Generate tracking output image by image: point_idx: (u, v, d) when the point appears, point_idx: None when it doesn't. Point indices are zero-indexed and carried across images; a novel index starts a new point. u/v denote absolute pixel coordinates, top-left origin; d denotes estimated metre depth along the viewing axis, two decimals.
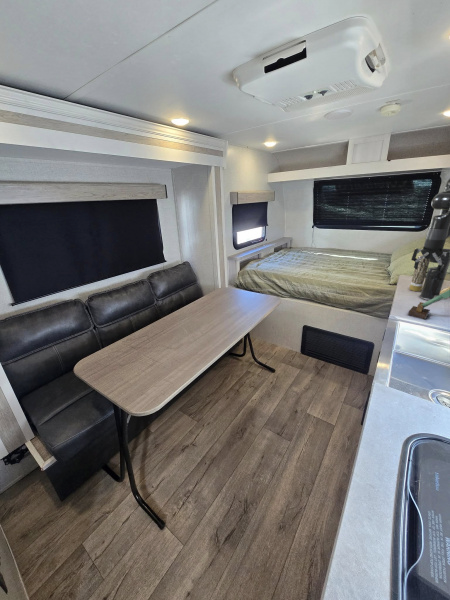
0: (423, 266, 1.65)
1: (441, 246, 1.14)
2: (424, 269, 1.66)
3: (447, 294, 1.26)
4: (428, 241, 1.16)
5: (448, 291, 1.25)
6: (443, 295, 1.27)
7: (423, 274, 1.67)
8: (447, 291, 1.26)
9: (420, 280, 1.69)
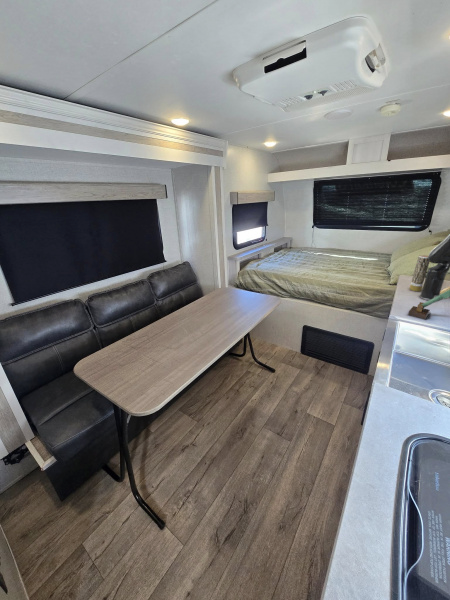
0: (423, 266, 1.65)
1: None
2: (424, 269, 1.66)
3: (447, 294, 1.26)
4: None
5: (448, 291, 1.25)
6: (443, 295, 1.27)
7: (423, 274, 1.67)
8: (447, 291, 1.26)
9: (420, 280, 1.69)
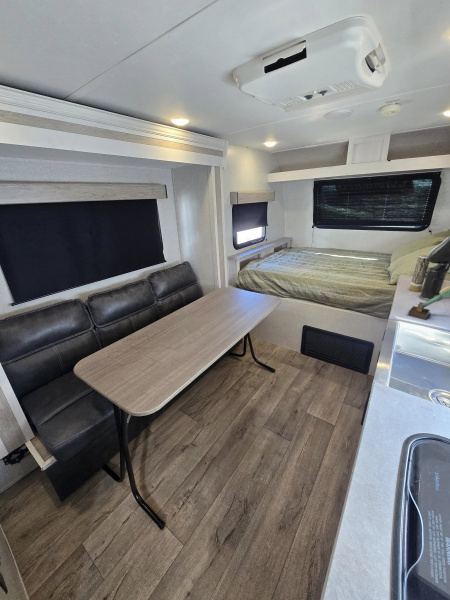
0: (423, 266, 1.65)
1: None
2: (424, 269, 1.66)
3: (447, 294, 1.26)
4: None
5: (448, 291, 1.26)
6: (443, 295, 1.27)
7: (423, 274, 1.67)
8: (447, 291, 1.26)
9: (420, 280, 1.69)
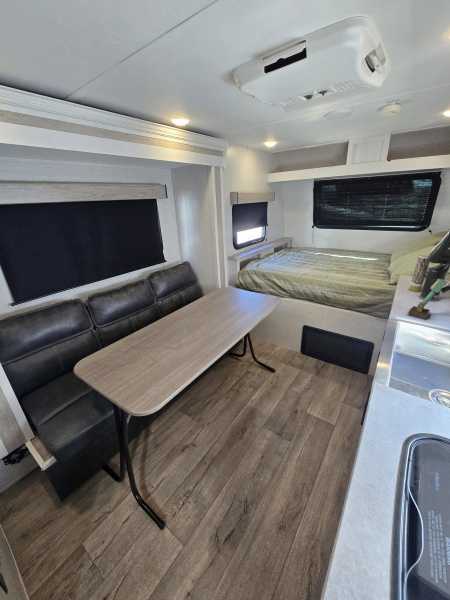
0: (423, 266, 1.65)
1: None
2: (424, 269, 1.66)
3: (437, 287, 1.28)
4: None
5: (437, 284, 1.28)
6: (434, 289, 1.29)
7: (423, 274, 1.67)
8: (436, 285, 1.28)
9: (420, 280, 1.69)
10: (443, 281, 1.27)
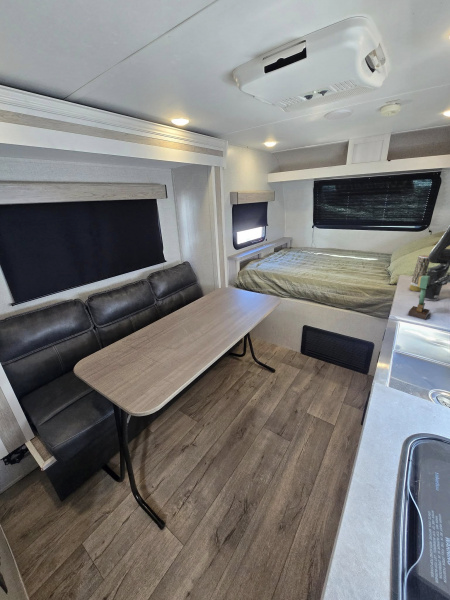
0: (423, 266, 1.65)
1: None
2: (424, 269, 1.66)
3: (423, 283, 1.32)
4: None
5: (421, 281, 1.33)
6: (422, 286, 1.33)
7: (423, 274, 1.67)
8: (420, 281, 1.33)
9: None
10: (425, 276, 1.32)
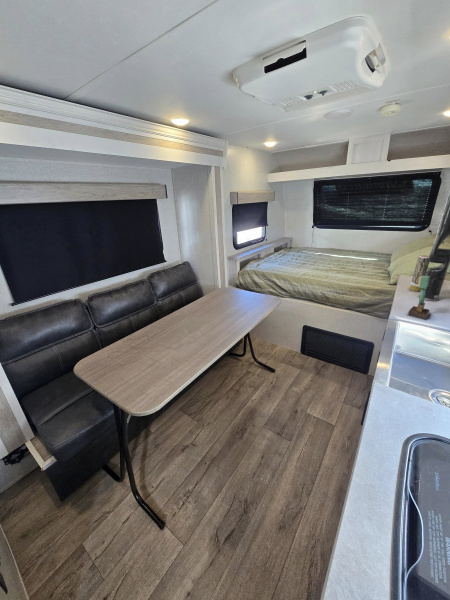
0: (423, 266, 1.65)
1: None
2: (424, 269, 1.66)
3: (423, 283, 1.32)
4: None
5: (421, 281, 1.33)
6: (422, 286, 1.33)
7: (423, 274, 1.67)
8: (420, 281, 1.33)
9: None
10: (425, 276, 1.32)
